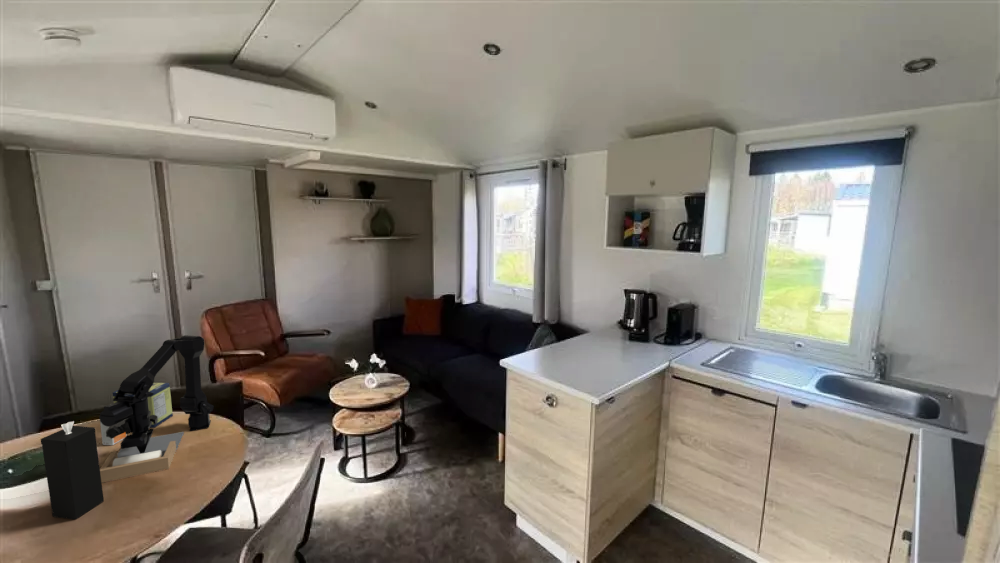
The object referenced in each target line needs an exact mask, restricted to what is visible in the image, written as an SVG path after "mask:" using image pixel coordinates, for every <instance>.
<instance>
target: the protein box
mask: <svg viewBox="0 0 1000 563" xmlns="http://www.w3.org/2000/svg"><path fill="white" fill-rule="evenodd" d="M118 390H119V389H117V390H115V391H113V392H112V400H113V399H114V397H115V395H116V394H117V392H118ZM149 392H151V393H153V395H152V396H150V397H148V406H149V411H150V410H151V414H150V415H156V416H157V417H158V422H157V424H153V422H152V425H151V426H150V428H149V429H155V428H156V427H158V426H159V425H161V424H162V422H163V423H164V422H166V421H167V420H169V419H170V418H172V417H174V413H173V408H172V407H173V406H172V396H171V386H170V383H169V382H154V383H153V385H152V386H151V388H150V389H149ZM124 396H131V397H133V396H135V395H129V394H125V395H124ZM115 402H116V401H113V403H115ZM150 415H149V416H150ZM125 420H126V419H125Z"/></svg>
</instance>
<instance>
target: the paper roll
mask: <svg viewBox="0 0 1000 563" xmlns="http://www.w3.org/2000/svg"><path fill="white" fill-rule="evenodd" d="M158 457H162V452H161V450H158V451H153V452H148V453H142V454H137V455H132V456H126V457H121V458H116V459H114V461H113V465H112V466H117V465H122V464H127V463H133V462H138V461H143V460H148V459H153V458H158Z"/></svg>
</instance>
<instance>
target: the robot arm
mask: <svg viewBox="0 0 1000 563" xmlns="http://www.w3.org/2000/svg"><path fill="white" fill-rule="evenodd" d="M204 350H205V338H204V337H202V336H200V335H189V334H188V335H187V334H186V335H182V336H181V337H176V338H171V339H166V340H165V341H163V342H162V345H161V346H160V347H159V348H158V349H157V351H156V352H154V354H152V356H151V357H150V358H149V359H148V360H147V361H146V362H145V364H144V365H143V366H142V367H141V368H139V370H137V371H135V372H132V373H131V374H130V375H128V376H127V377H126V378H125V379H123V380H122V381H121V383H120V385H119V388H118V389H117V390H118V392H117V394H116V395H115V397H114V399H113V398H112V402H113V403H111V404H107V405H105V406H104V407H103V410H102V411H101V412H100V413H99V416H98V417H99V422H100V421H101V423H102V424H103V425H105V426H108V427H109V428H108V429H107V430H106V437H110V438H111V439H112V438H115V437H116V436H118V435H120V434H122V433H125V432H126V434H127V436H126V437H125V438H124V439H123V440H121V441H120V442H119V443H120V449H125V448H130V447H137V449H138V450H139V452H140V453H144V452H145V450H146V448H147V445H148V443H149V440H150V438H151V437H152V435H153V432H154V429H155V428H150V426H151V425H152V422H153V424H157V422H158V417H157V416H156V415H150V414H151V410H150V411H149V406H148V397H150V396H152V395H153V393H151V392H149V389H150V388H151V386H152V385H153V383H155V379H156V378H155V377H156V376H157V374H158V373H159V372H160V371H161V370H162V368H164V366H165V365H166V364H167V363H168V362H169V361H170V359H171V358H173V356H174V355H175V354H176V352H177V351H178V352H179V353H180V355H181V356H182V357H183V359H184V360H183V361H184V376H185V379H184V380H185V393H184V395H183V396H182V397H180V398H179V403H180V405H179V408H181V411H183V412H184V414H185V415H189V416H188V419H187V422H188V428H189V432H193V431H198V430H203V429H208V428H210V425H211V423H212V420H211V419H210V418H211V417H210V414H211V413H212V412H214V405H213V404H211V403H210V402H209V401H208V399H207V396H206V393H205V392H204V391H203V390H202V382H201V381H202V380H201V379H202V378H201V375H202V374H201V359H200V356H201V355H202V354H203V352H204ZM125 394H129V395H135V396H133V397H131V396H124V395H125ZM114 401H116V402H115V403H114ZM149 415H150V416H149ZM125 419H126V420H125Z"/></svg>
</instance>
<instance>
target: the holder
mask: <svg viewBox="0 0 1000 563" xmlns="http://www.w3.org/2000/svg"><path fill="white" fill-rule="evenodd" d="M184 434H185V433H184V431H181V432H175V433H174V432H173V433H169V434H162V435H157V436H151V438H150V440H149V443H148V445H147V448H146V450H145V452H144V453H148V452H153V451H158V450H161V452H162V457H158V458H153V459H148V460H143V461H138V462H133V463H127V464H122V465H117V466H112V465H113V461H114V459H116V458H121V457H126V456H132V455H137V454H142V453H140V452H139V450H138V449H137V447H130V448H125V449H121V448H120V449H119V451H118V450H117V451H111V452H110V454H109V455H108V456H107V458H106V460H104V462H103V464H102V466H101V467H100V475H101V483H102V484H103V483H107V482H112V481H116V480H117V481H118V480H122V479H127V478H132V477H137V476H142V475H147V474H151V472H152V473H155V471H157V472H160V471H159V470H161V471H165V470H164V469H166V470H169V469H170V468H171V465H172V463H171V462H173V461H174V458H175V456H174V454H175V455H176V453H177V451H178V448H179V446H178V445H180V444H181V441H182V439H183V437H182V436H184ZM181 438H182V439H181ZM179 443H180V444H179ZM176 450H177V451H176ZM175 452H176V453H175ZM173 457H174V458H173Z"/></svg>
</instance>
